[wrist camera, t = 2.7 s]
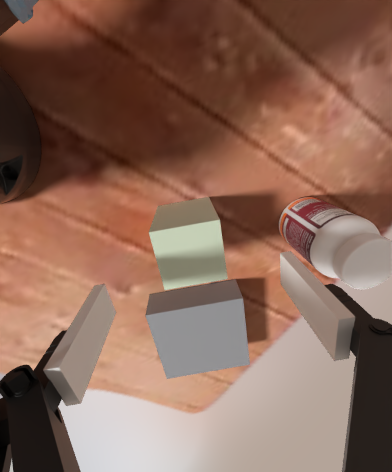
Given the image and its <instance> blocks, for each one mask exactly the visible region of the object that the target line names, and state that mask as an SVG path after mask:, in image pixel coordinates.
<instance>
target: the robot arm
mask: <svg viewBox="0 0 392 472" xmlns="http://www.w3.org/2000/svg"><path fill="white" fill-rule="evenodd" d="M38 1H39V0H0V36H1V35H2V34H3V33H4V32H5V31H7V30H8V29H9V28H10V27H11V26H13V25H14V24H15V23H16V22H17V21H18V20H20V21H21V22H22V23H23V24H24V23H25V22H27V21H28V20H29V19H31V18H32V17H33V6H34V5H35V4H36V3H37V2H38ZM40 159H41V141H40V135H39V130H38V126H37V123H36V120H35V117H34V115H33V112H32V110H31V108H30V106H29V104H28V102H27V100H26V99H25V97H24V95H23V94H22V92H21V91H20V89H19V88H18V86H17V85H16V84H15V82H14V81H13V80H12V79H11V77H10V76H9V75H8V74H7V73H6V72H5V71H4V70H3V69H2V68H1V67H0V204H2V203H5V202H8V201H10V200H12V199H14V198H16V197H18V196H19V195H21V194H22V193H23V192H24V191H25V190H26V189H27V188H28V187H29V186H30V185H31V183H32V182H33V180H34V178H35V177H36V174H37V172H38V169H39V165H40ZM280 270H281V285H282V286H283V288H284V289H285V291H286V292H287V294H288V295H289V297H290V298H291V299H292V301H293V302H294V304H295V305H296V307H297V308H298V310H299V311H300V312H301V314H302V315H303V317H304V318H305V320H306V321H307V323H308V324H309V325H310V327H311V328H312V330H313V331H314V333H315V334H316V335H317V337H318V338H319V340H320V341H321V343H322V344H323V346H324V347H325V349H326V350H327V351H328V353H329V354H330V356H331V357H332V359H333V360H334V361H336V360H342V359H347V358H349V355H350V350H351V351H352V353H353V354H354V355H355V356H356V361H355V367H354V378H353V387H352V394H351V402H350V411H349V419H348V427H347V435H346V443H345V452H344V460H343V468H342V472H392V325H391V324H389V323H388V322H386V321H383V320H380V319H375V318H373V317H372V316H371V315H370V314H368V313H367V312H366V311H365V310H364V309H363V308H362V307H361V306H360V305H359V304H358V303H356V302H355V301H354V300H353V299H352V298H351V297H350V296H348V294H347V293H346V292H344V291H343V290H342V289H341V288H340V287H338V286H336V285H334V284H328V285H323V284H322V283H321V282H320V281H319V280H318V279H317V278H316V277H315V276H314V275H313V274H312V273H311V271H310V270H309V269H308V268H307V267H306V266H305V265H304V264H303V263H302V262H301V261H300V260H299V259H298V258H297V257H296V256H295V255H294V254H293V253H292V252H291V251H289V252H283V253H280ZM115 314H116V311H115V309H114V306H113V304H112V301H111V299H110V296H109V294H108V291H107V289H106V286H105V284H101V285H95V286H94V287H93V289H92V291H91V292H90V294H89V296H88V297H87V299H86V300H85V302H84V304H83V305H82V307H81V309H80V310H79V312H78V314H77V315H76V317H75V318H74V320H73V322H72V323H71V325H70V327H69V328H68V330H65V331H62V332H61V333H60V334H59V335H58V336H57V337H56V338H55V339H54V340H53V342H52V343H51V345H50V347H49V348H48V349H47V351H46V352H45V353H46V354H44V355H43V357H42V359H41V360H40V362H39V363H38V365H37V366H36V368H35V369H34V371H33V370H32V368H31V367H30V366H29V365H22V366H19V367H17V368H15V369H13V370H12V371H10V372H9V373H7V374H6V375H5V376H4V377H3V378H2V380H1V381H0V394H1V395H2V396H3V398H1V399H0V472H9V470H10V465H11V459H12V462H13V471H14V472H80V469H79V466H78V463H77V460H76V457H75V454H74V451H73V448H72V445H71V442H70V438H69V436H68V432H67V430H66V427H65V424H64V420H63V417H62V415H61V412H60V410H59V408H58V405H59V403H60V401H61V399H62V400H63V401H64V403H65V405H66V406H68V405H75V404H80V403H81V402H82V399H83V396H84V394H85V391H86V389H87V386H88V384H89V381H90V378H91V376H92V373H93V371H94V368H95V366H96V363H97V360H98V358H99V355H100V353H101V350H102V348H103V345H104V342H105V340H106V337H107V335H108V332H109V329H110V327H111V324H112V322H113V319H114V317H115Z"/></svg>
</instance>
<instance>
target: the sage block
mask: <svg viewBox="0 0 392 472" xmlns="http://www.w3.org/2000/svg"><path fill="white" fill-rule="evenodd" d="M149 235H150V238H151V242H152V245H153V249H154V253H155V256H156V260H157V264H158V267H159V271H160V274H161V278H162V282H163V285H164V289H165V290H168V289H174V288H179V287H185V286H191V285H196V284H202V283H208V282H213V281H219V280H225V279H228V278H227V271H226V263H225V255H224V248H223V240H222V233H221V225H220V219H219V217H218V215H217V213H216V211H215V209H214V207H213V205H212V202H211V200H210V198H209V197H205V198H199V199H194V200H188V201H183V202H177V203H172V204H166V205H161V206H158V207H157V210H156V213H155V216H154V219H153V222H152V225H151V228H150V231H149Z"/></svg>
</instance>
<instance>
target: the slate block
mask: <svg viewBox="0 0 392 472" xmlns="http://www.w3.org/2000/svg"><path fill="white" fill-rule="evenodd" d="M146 318H147V321H148V324H149V327H150V330H151V333H152V336H153V339H154V342H155V345H156V348H157V351H158V354H159V357H160V359H161V362H162V365H163V368H164V371H165V374H166V377H167V379H169V378H174V377H180V376H186V375H192V374H197V373H203V372H209V371H215V370H221V369H226V368H232V367H238V366H244V365H249V364H250V362H249V352H248V342H247V332H246V322H245V313H244V303H243V297H242V294H241V292H240V289H239V287H238V284H237V282H236V279H234V280H228V281H222V282H217V283H211V284H205V285H200V286H194V287H188V288H183V289H177V290H171V291H166V292H160V293H155V294H150V295H149V300H148V305H147V311H146Z"/></svg>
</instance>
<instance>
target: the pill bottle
mask: <svg viewBox="0 0 392 472" xmlns="http://www.w3.org/2000/svg"><path fill="white" fill-rule="evenodd" d="M279 231H280V234H281V236H282V237H283V238H284V239H285V241H286V242H288V243H289V244H290V245H291V246H292V247H293V248H294V249H295V250H296V251H297V252H299V253H300V254H301V255H302V256H303V257H304V258H305V259H306V260H307V261H308V262H309V263H310V264H311V265H313V266H314V267H315V268H316V269H317V270H318V271H319V272H321V273H322V274H324V275H326V276H328V277H332V278H340V279H341V280H342V281H343V282H344V283H345V284H347V285H348V286H350V287H352V288H355V289H368V288H372V287H375V286H377V285H379V284H381V283H382V282H384V281H385V280H387V279H388V278H389V277H390V276H391V275H392V241H390V240H389V239H387V238H385V237H383V236H381V235H380V233H379V231H378V229H377V228H376V226H375V225H374V224H373V223H372V222H370V221H369V220H367V219H365V218H363V217H361V216H358V215H355V214H353V213H351V212H348V211H346V210H343V209H341V208H339V207H336V206H334V205H332V204H329V203H327V202H324V201H322V200H320V199H317V198H313V197H304V198H300V199H297V200H295V201H293V202H292V203H290V204H289V205H288V206H287V207H286V208H285V209H284V211H283V212H282V214H281V217H280V220H279Z"/></svg>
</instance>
